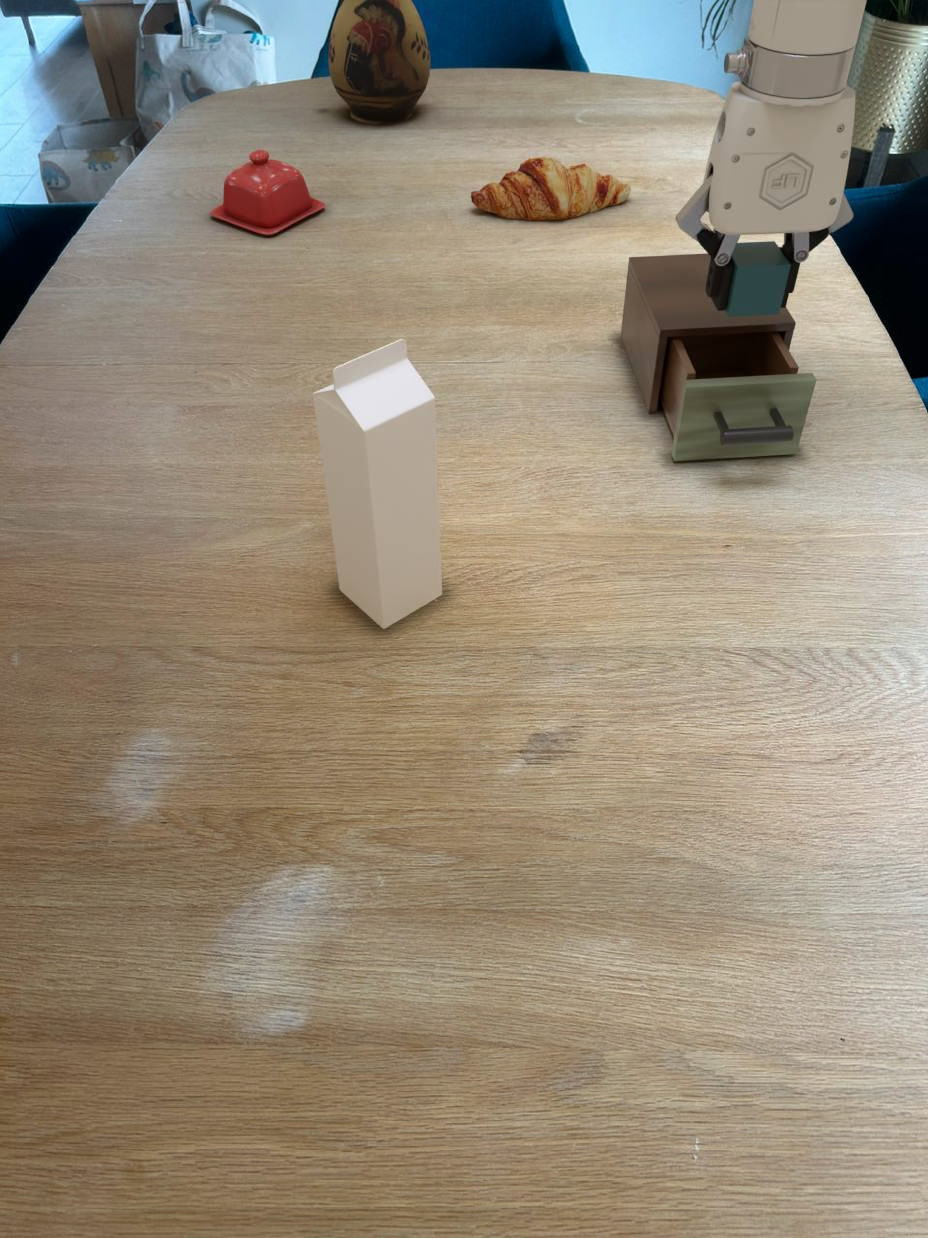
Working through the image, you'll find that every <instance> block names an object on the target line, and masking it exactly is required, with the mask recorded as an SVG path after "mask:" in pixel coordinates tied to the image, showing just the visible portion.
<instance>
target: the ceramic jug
mask: <svg viewBox="0 0 928 1238" xmlns="http://www.w3.org/2000/svg"><path fill="white" fill-rule="evenodd" d="M339 3H340V4H339V8H338V10H337V12H336V16H335V18H334V21H333V24H332V28H331V31H330V37H329V41H328V42H329V43H328V70H329V75H330V79H331V83H332V86H333V88H334V90H335V92H336V93H337V94H338V96H339V97H340V98H341V99H342V100H343V102H345V103H346V105H348V106H349V108H350V109H351V110H350V118H352V119H353V120H355V121H357V122H359V123H361V124H367V125H374V126H382V125H383V126H384V125H393V124H397V123H400V122H404V121H406V120H408V119H410V118H411V116H412V114H413V113H412V112H413V109H414V108H415V106H416V105H417V103H418V102H419V100H420V98H421V97H422V96H423V94H424V92H425V91H426V89H427V86H428V83H429V79H430V74H431V54H430V53H431V52H430V48H429V43H428V39H427V35H426V30H425V28H424V25H423V21H422V19H421V16H420V15H419V12H418V10H417V8H416V6H415V4H414V2H413V1H412V0H340V2H339Z"/></svg>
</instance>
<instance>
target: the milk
mask: <svg viewBox="0 0 928 1238" xmlns="http://www.w3.org/2000/svg"><path fill="white" fill-rule="evenodd" d="M407 347H408V346H407V341H406V340H405V339H404V338H400V339H397V340H396V341H393V342H390V343H388V344H386V345H384V346H381V347H379V348H377V349H375V350H372V351H370V352H367V353H365V354H363V355H360V356H358V357H356V358H353V359H351V360H349V361H347V362H344V363H341V364H339V365H337V366H335V367H334V368H333V370H332V382H333V383H332V384H331V385H328V386H326V387H324V388H321V389H319V390H316V391H314V392H313V393H312V400H313V407H314V414H315V422H316V429H317V435H318V445H319V452H320V458H321V466H322V472H323V480H324V486H325V494H326V495H325V496H326V500H327V501H326V502H327V509H328V516H329V523H330V529H331V537H332V545H333V551H334V559H335V567H336V573H337V574H336V575H337V580H338V587H339V591H340V592H341V593H342V594H343V595H345V596H346V598H348V599H349V600H350V601H351V602H352V603H353V604H355V605H356V606H357V607H358V608H359V609H360V610H361V611H363V613H365V614H366V615H367V616H368V617H369V618H370V619H372V621H373V622H375V623H376V624H377V625H378V626H379V627H380V628H382V629H383V630H385V629H387V628H389V627H390V626H391V625H392V626H393V624H395V623H396V622H398V621H400V620H401V619H404V618H405V617H408V615H411V614H412V613H414V612H415V611H417V610H419V609H421V608H422V607H424V606H425V605H427V604H429V603H430V602H432V601H434V600H436V599H437V598H439V597H441V596H442V595H443V577H442V576H443V575H442V573H443V572H442V556H441V555H442V549H441V548H442V547H441V521H440V501H439V500H440V498H439V497H440V496H439V495H440V494H439V471H438V444H437V443H438V442H437V419H436V418H437V417H436V415H437V414H436V398H435V395H434V394H433V392H432V391H431V390H430V388H429V387H428V385H427V384H426V383H425V381H424V379H423V378H422V377H421V375H420V374H419V372H418V371H417V370H416V368H415V367H414V365H413V364H412V363H411V361H410V360H409V358H408V348H407Z"/></svg>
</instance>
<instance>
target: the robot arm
mask: <svg viewBox="0 0 928 1238" xmlns="http://www.w3.org/2000/svg"><path fill="white" fill-rule="evenodd" d="M867 1H868V0H753V2H752V3H753V4H752V10H751V16H750V21H749V27H748V33H747V37H744V39H743V45H742V46H741V49H737V50H736V51H735V52H726V53H725V56H724V61H723V72H724V74H734V75H735V76H738V78H739V81H734V82H732V83H731V85H730V87H729V90H728V93H727V95H726V98H725V100H724V103H723V106H722V109H721V112H720V114H719V118H718V121H717V124H716V127H715V131H714V135H713V138H712V142H711V145H710V149H709V155H708V158H707V163H706V167H705V171H704V177H703V182H702V184H701V185H700V186H699V188H697V190H696V191H695V192H694V194H693V195H692V196H691V197H690V198H689V200H688V201H686V203H685V204H684V206H682V208H681V209H680V210H679V212H678V213H677V214H676V215H675V222H676V224H677V226H678V228H679V229H680V231H682V232H684V233H685V234H686V235H688V237H690V238H692V240H695V241H696V242H698V244H699V245H700V246H701V247H702V248H703V250H704V251H705V252H706V253H708V254H709V255H710V256H711V259H710V265H709V270H708V276H707V282H706V293H707V296H708V297H711V299H712V301H713V303H714V305H715V307H716V309H717V310H718V311H724V310H725V309H726V308H727V304H728V299H729V294H730V289H731V283H732V278H733V273H734V266H733V264H732V263H731V258H732V254H733V252H734V249H735V247H736V245H737V243H739V240H740V237H741V236H748V235H749V236H751V235H752V236H753V235H772V234H773V235H777V234H783V244H782V246H778V247H779V248H780V250H781V251H782V253H783V254H784V256H785V257H786V259H787V260H788V262H789V263H790V265H791V266H790V270H789V274H788V279H787V283H786V287H785V292H784V296H783V300H782V304H781V308H785V307H786V308H787V305H788V300H789V296H790V294H793V293H794V291H795V287H796V284H797V279H798V276H799V275H798V274H799V271H800V267H801V263H804V262H805V261H807V260H808V258H809V256H810V253H811V252H812V251H813V250H814V249H816V248H817V247H818V246H819V245H820V244H821V243H822V242H824V241H825V240H826V239H827V238H828V237H829V234H833V233H834V232H836V231H837V230H839V229H841V228H843V227H844V226H845V225H847V224H849V223H850V222H851V221H852V220H853V218H854V212H853V210H852V207H851V206H850V204H849V201H848V199H847V196H846V194H845V187H846V180H847V177H848V176H847V175H848V171H849V164H850V158H851V150H852V145H853V143H852V142H853V136H854V135H853V134H854V126H855V125H854V124H855V113H856V91H855V90H854V89H853V88H851V87H850V86H849V85H847V83H848V78H849V74H850V70H851V67H852V62H853V58H854V55H855V49H856V47H857V45H856V44H857V42H858V37H859V33H860V30H861V25H862V21H863V17H864V13H865V10H866V9H865V8H866V5H867ZM705 213H708V218H709V223H710V224H711V226H712V227H713V229H711V228H710V227H709V225H708V224H707V223H704V222H703V221H701V219H702V217H703V216H704V215H705Z"/></svg>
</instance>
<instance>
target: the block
mask: <svg viewBox="0 0 928 1238" xmlns="http://www.w3.org/2000/svg"><path fill="white" fill-rule="evenodd" d="M779 247H780V246H779V245H778V244H777V242H776V241H775V240H771V241H770V240H769V241H749V242H747V241H746V242H737V245H736V247H735V249H734V252H733V254H732V258H731V263H732V264H733V266H734V273H733V278H732V283H731V289H730V294H729V299H728V304H727V308H726V309H725V312H726V314H727V316H728V317H737V316H757V315H778V314H779V313H780V309H781V304H782V300H783V296H784V292H785V287H786V283H787V279H788V274H789V270H790V266H791V265H790V263H789V262H788V260H787V259H786V257H785V256H784V254H783V253H782V251H781V250H780V248H779Z"/></svg>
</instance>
